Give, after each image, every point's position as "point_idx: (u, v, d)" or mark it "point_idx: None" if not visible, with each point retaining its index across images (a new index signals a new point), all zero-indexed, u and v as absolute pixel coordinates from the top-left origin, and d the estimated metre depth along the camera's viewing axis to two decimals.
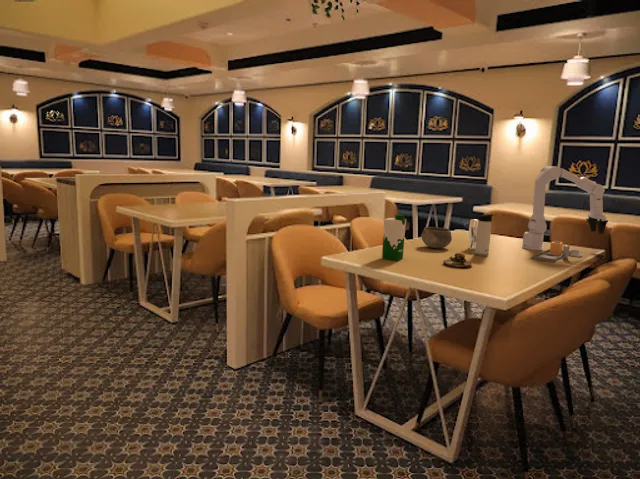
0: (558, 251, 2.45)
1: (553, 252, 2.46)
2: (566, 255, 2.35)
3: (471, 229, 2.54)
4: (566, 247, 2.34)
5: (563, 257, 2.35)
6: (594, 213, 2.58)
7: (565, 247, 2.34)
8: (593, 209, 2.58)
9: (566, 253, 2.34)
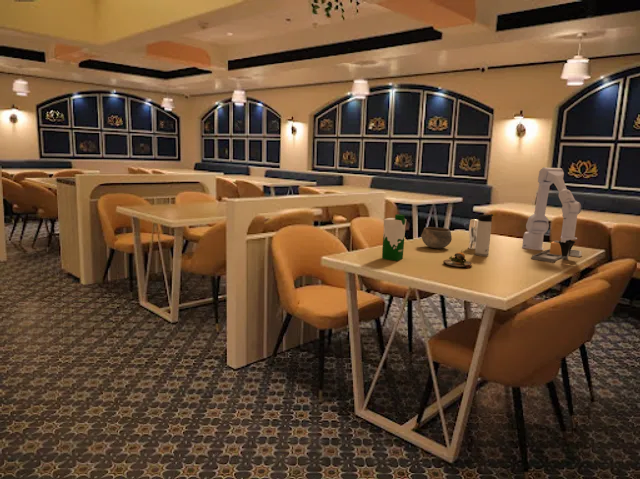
0: (558, 251, 2.45)
1: (553, 252, 2.46)
2: None
3: (471, 229, 2.54)
4: None
5: (563, 257, 2.35)
6: (562, 233, 2.34)
7: None
8: (562, 229, 2.34)
9: None
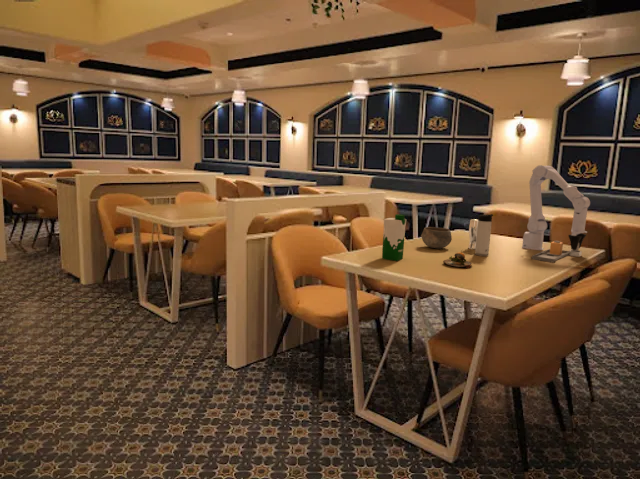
0: (558, 251, 2.45)
1: (553, 252, 2.46)
2: (576, 251, 2.45)
3: (471, 229, 2.54)
4: None
5: None
6: (572, 227, 2.45)
7: None
8: (572, 223, 2.45)
9: (576, 249, 2.45)
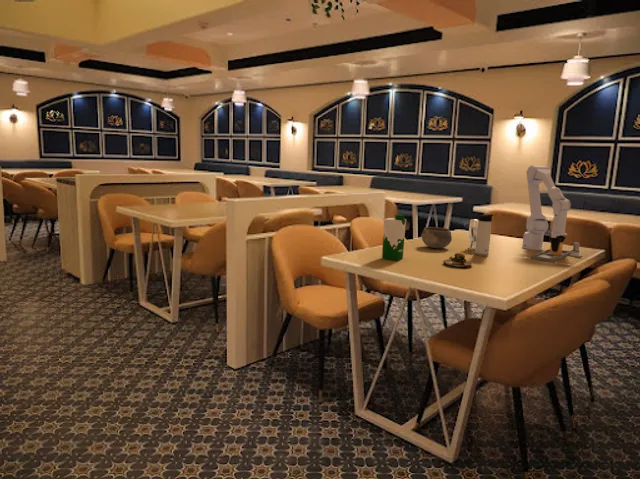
0: (558, 251, 2.45)
1: (553, 252, 2.46)
2: (576, 251, 2.45)
3: (471, 229, 2.54)
4: (576, 244, 2.45)
5: None
6: (553, 229, 2.46)
7: (575, 244, 2.45)
8: (553, 225, 2.46)
9: (577, 249, 2.45)
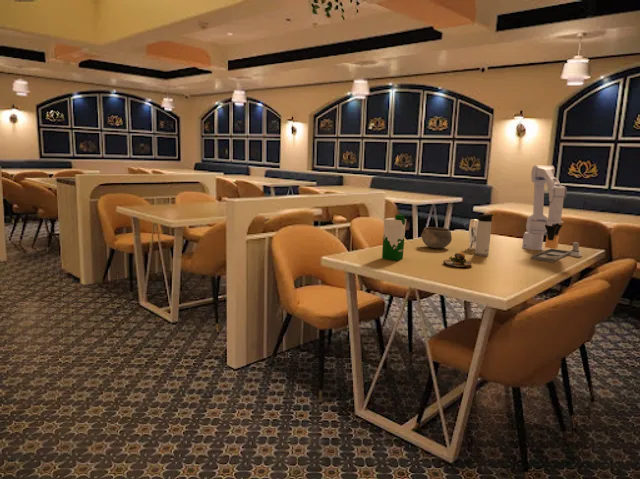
0: (554, 244, 2.37)
1: (549, 245, 2.38)
2: (576, 251, 2.45)
3: (471, 229, 2.54)
4: (576, 244, 2.45)
5: None
6: (548, 217, 2.38)
7: (575, 244, 2.45)
8: (549, 213, 2.38)
9: (576, 249, 2.45)
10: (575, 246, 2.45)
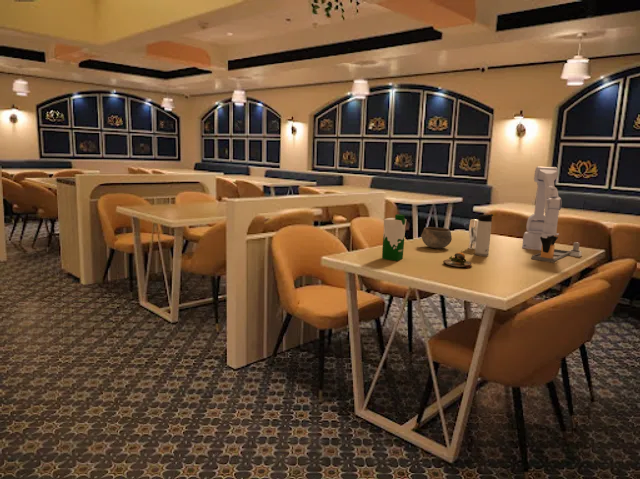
0: (549, 254, 2.34)
1: (544, 255, 2.35)
2: (576, 251, 2.45)
3: (471, 229, 2.54)
4: (576, 244, 2.45)
5: None
6: (544, 229, 2.35)
7: (575, 244, 2.45)
8: (544, 224, 2.35)
9: (576, 249, 2.45)
10: (575, 246, 2.45)
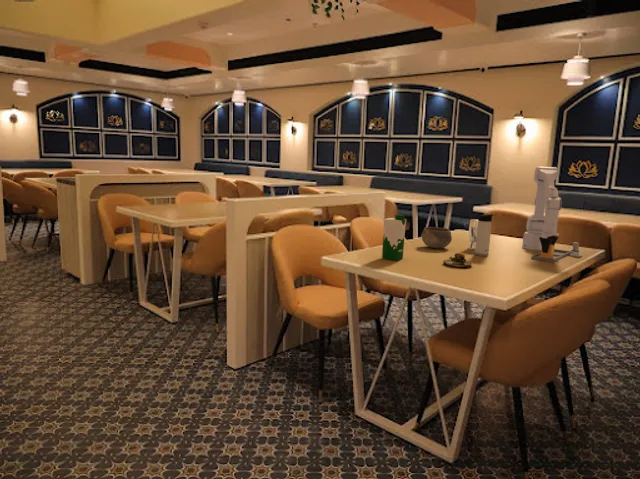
0: (549, 254, 2.34)
1: (544, 255, 2.35)
2: (576, 251, 2.45)
3: (471, 229, 2.54)
4: (575, 244, 2.45)
5: None
6: (544, 229, 2.35)
7: (574, 244, 2.45)
8: (544, 225, 2.35)
9: (576, 249, 2.45)
10: (575, 246, 2.45)
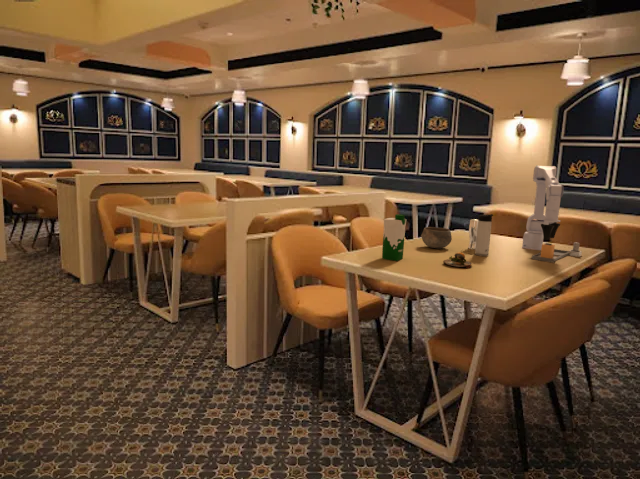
0: (549, 254, 2.34)
1: (544, 255, 2.35)
2: None
3: (471, 229, 2.54)
4: (576, 244, 2.45)
5: None
6: (545, 216, 2.34)
7: (575, 244, 2.45)
8: None
9: (576, 249, 2.45)
10: (575, 246, 2.45)
